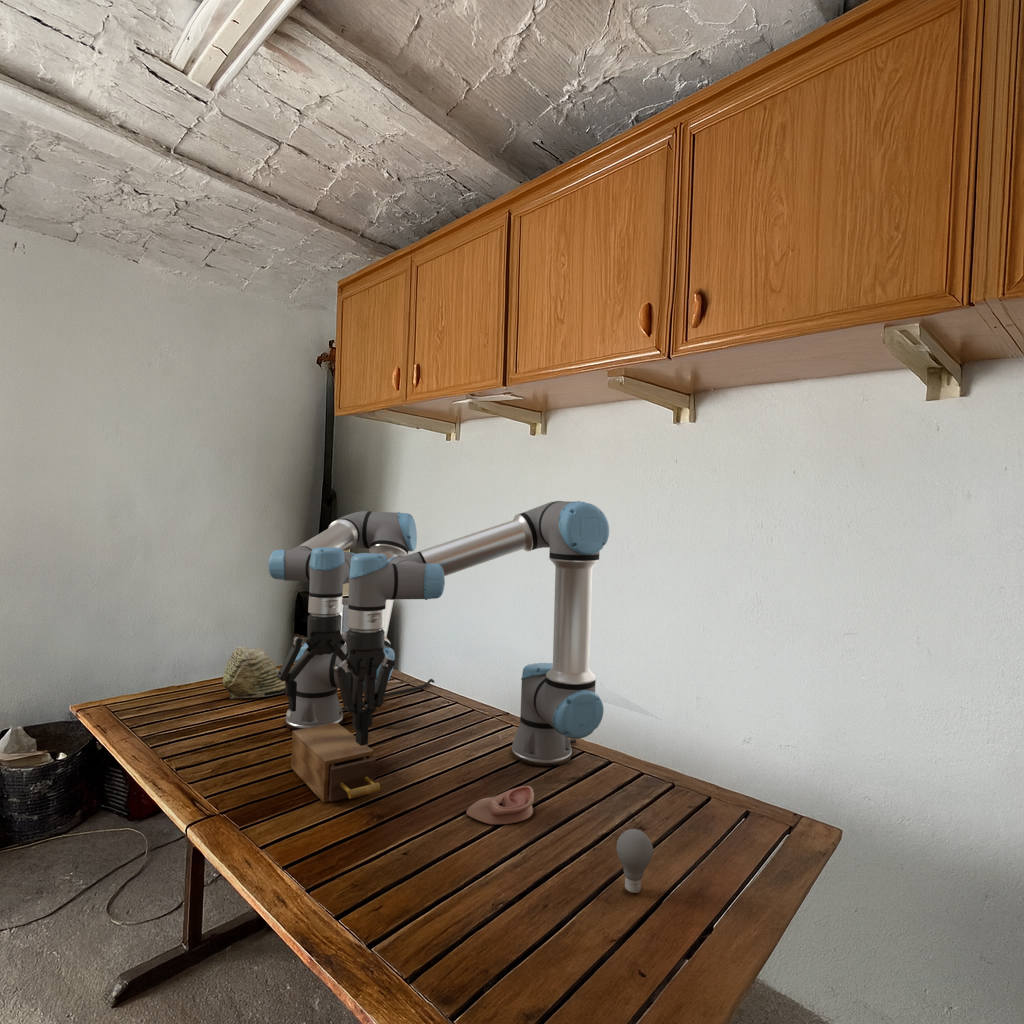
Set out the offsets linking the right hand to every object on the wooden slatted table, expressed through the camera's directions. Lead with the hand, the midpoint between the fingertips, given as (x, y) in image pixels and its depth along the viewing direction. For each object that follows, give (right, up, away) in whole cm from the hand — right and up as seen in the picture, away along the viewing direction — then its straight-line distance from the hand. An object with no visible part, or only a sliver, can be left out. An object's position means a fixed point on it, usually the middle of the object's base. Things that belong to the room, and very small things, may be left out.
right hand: (361, 742), depth 130 cm
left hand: (-13, +2, +17) cm, 22 cm away
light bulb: (+51, -16, -25) cm, 59 cm away
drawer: (-6, -12, +8) cm, 15 cm away
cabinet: (-10, -13, +12) cm, 20 cm away
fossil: (-50, -10, +68) cm, 85 cm away
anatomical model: (+29, -14, 0) cm, 32 cm away
